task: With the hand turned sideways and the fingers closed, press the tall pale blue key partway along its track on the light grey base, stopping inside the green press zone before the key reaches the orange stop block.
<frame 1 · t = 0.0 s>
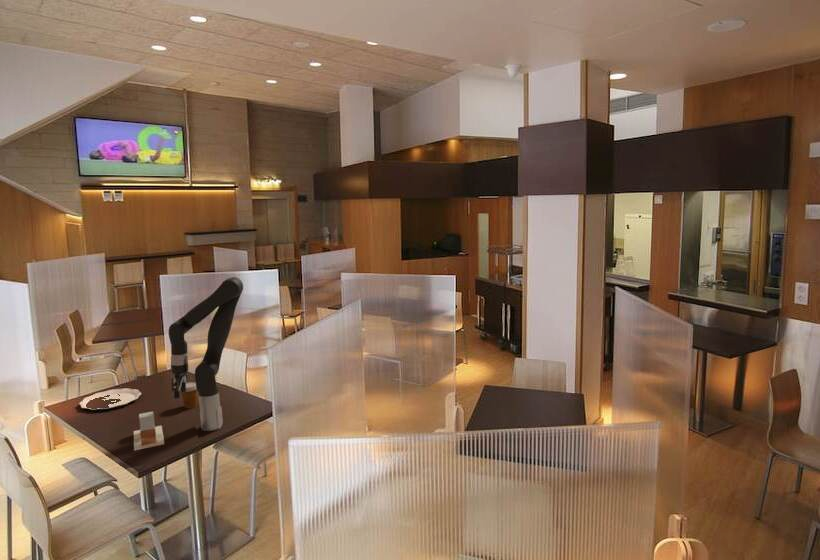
hand: (180, 394, 246), 17 cm above the table, tool pointing down, fingers open, 8 cm apart
stop block: (149, 443, 232), point 1 cm above the table, touching key housing
key: (147, 423, 241), point 6 cm above the table, slide at 0.0 cm
key housing: (148, 440, 237), on the table
plate: (111, 402, 285), on the table
disposable coffee cup: (191, 406, 276), on the table
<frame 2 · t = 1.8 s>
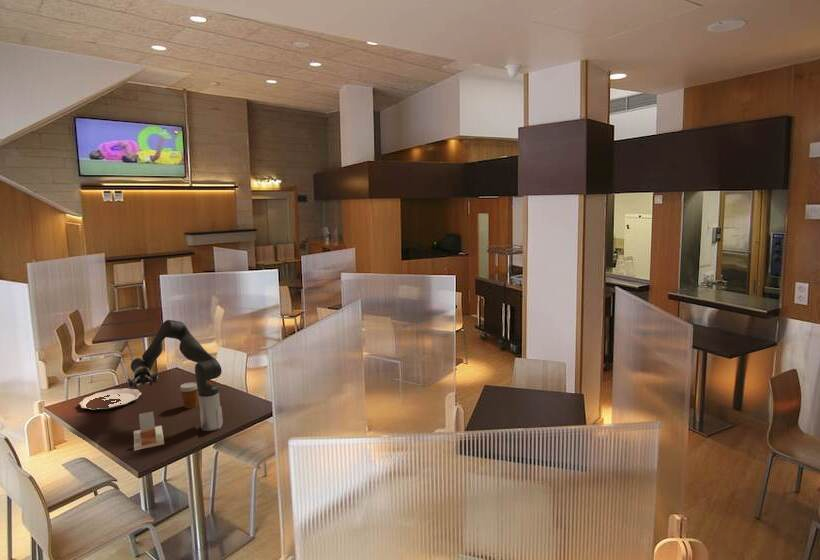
hand: (143, 385, 252), 20 cm above the table, tool horizontal, fingers open, 5 cm apart
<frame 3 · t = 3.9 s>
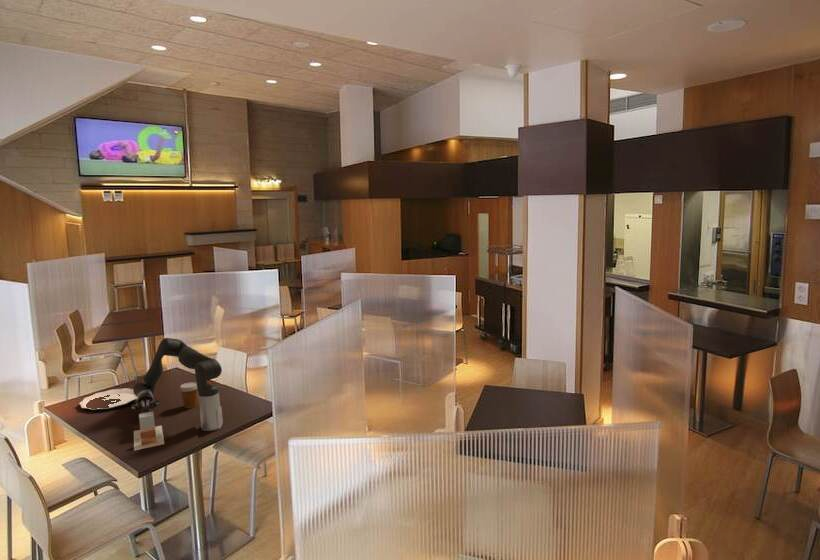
hand: (146, 410, 253), 7 cm above the table, tool horizontal, fingers closed
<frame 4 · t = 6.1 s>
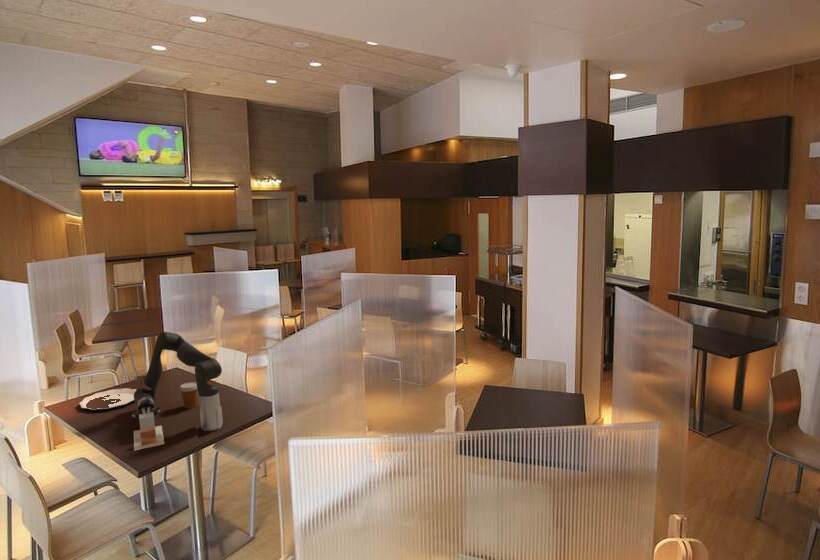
hand: (146, 419, 243), 8 cm above the table, tool horizontal, fingers closed
key: (147, 424, 240), point 6 cm above the table, slide at 0.8 cm, touching gripper
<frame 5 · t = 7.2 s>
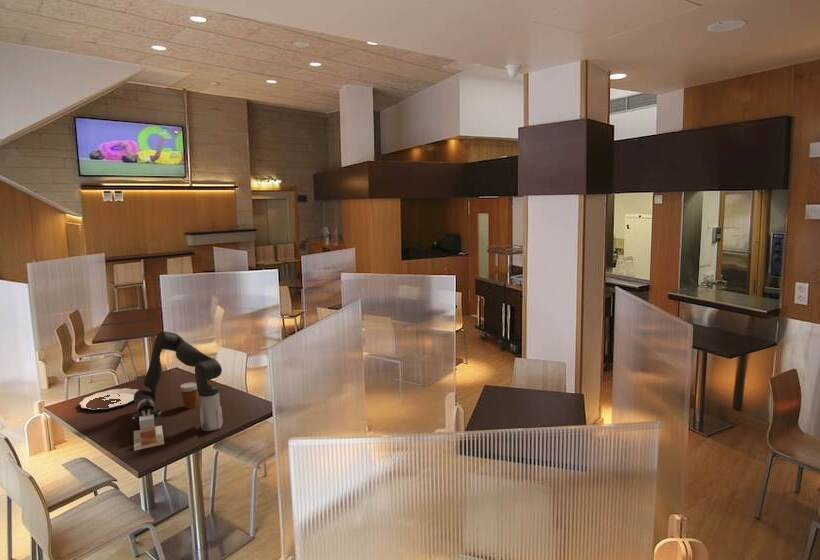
hand: (147, 421, 240), 8 cm above the table, tool horizontal, fingers closed
key: (147, 426, 238), point 6 cm above the table, slide at 3.6 cm, touching gripper
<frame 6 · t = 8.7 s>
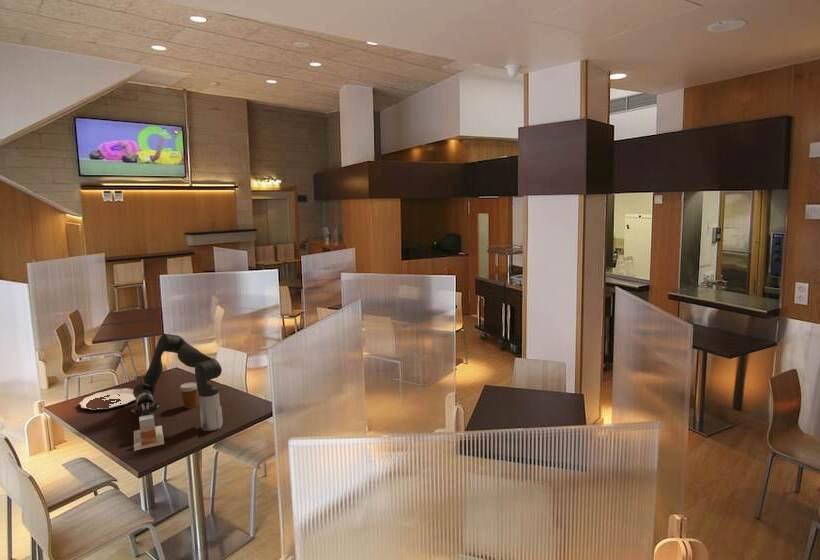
hand: (146, 414, 248), 8 cm above the table, tool horizontal, fingers closed
key: (147, 426, 238), point 6 cm above the table, slide at 3.6 cm
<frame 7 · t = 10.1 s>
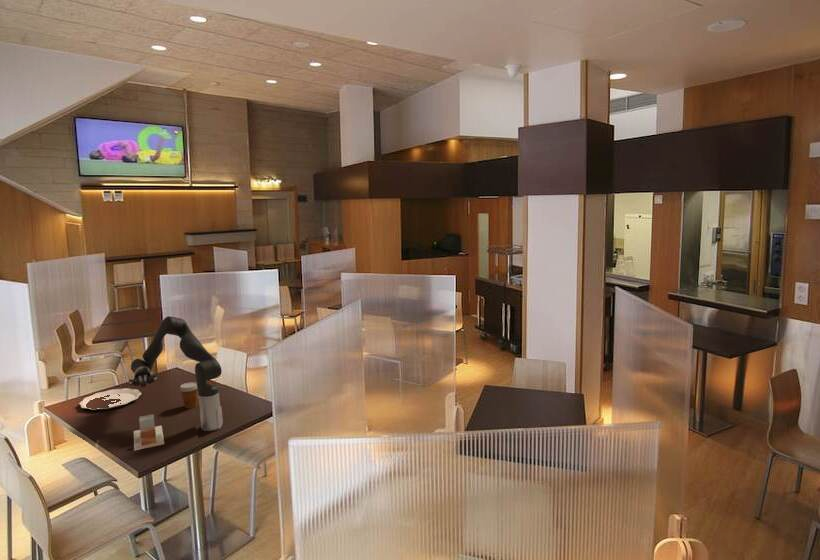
hand: (143, 385, 249), 21 cm above the table, tool horizontal, fingers closed
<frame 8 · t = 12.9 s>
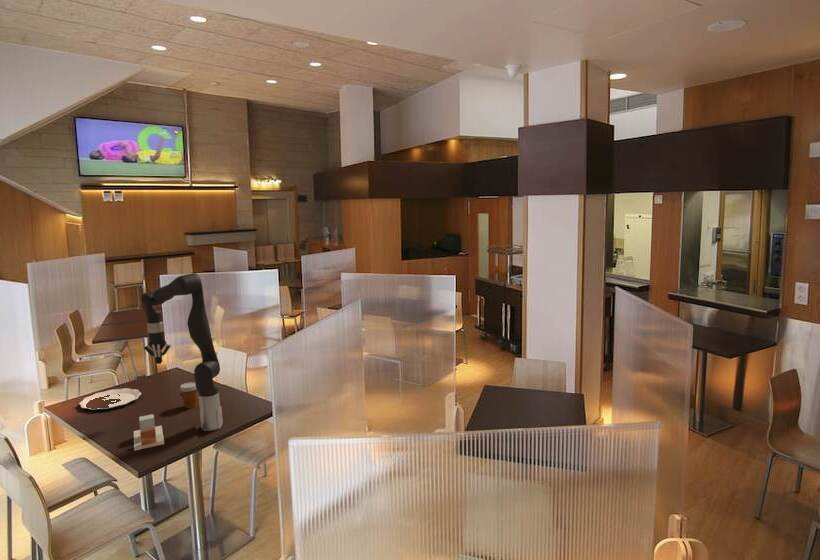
hand: (159, 363, 263), 27 cm above the table, tool pointing down, fingers closed
at the end: key slide at 3.6 cm; stop block moved 0.0 cm from its start; stop block tilted 0° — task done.
